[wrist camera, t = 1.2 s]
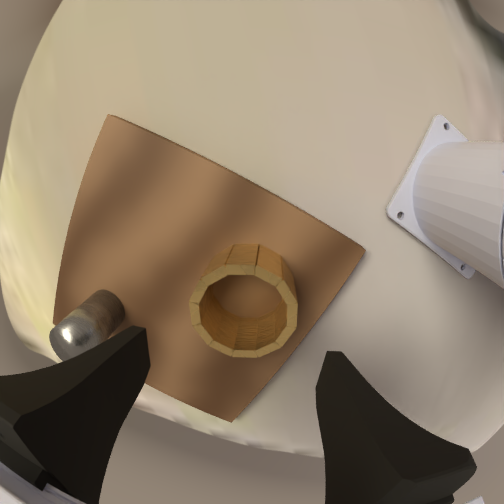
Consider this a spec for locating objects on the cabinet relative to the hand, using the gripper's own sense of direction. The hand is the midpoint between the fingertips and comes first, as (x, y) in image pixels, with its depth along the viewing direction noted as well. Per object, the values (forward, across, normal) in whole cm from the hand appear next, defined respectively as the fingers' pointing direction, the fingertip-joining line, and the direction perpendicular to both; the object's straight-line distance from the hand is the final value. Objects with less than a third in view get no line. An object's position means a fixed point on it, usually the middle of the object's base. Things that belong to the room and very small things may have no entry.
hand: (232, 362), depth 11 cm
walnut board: (+8, +5, +2) cm, 10 cm away
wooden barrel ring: (+7, 0, 0) cm, 7 cm away
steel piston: (+8, +10, +3) cm, 13 cm away
